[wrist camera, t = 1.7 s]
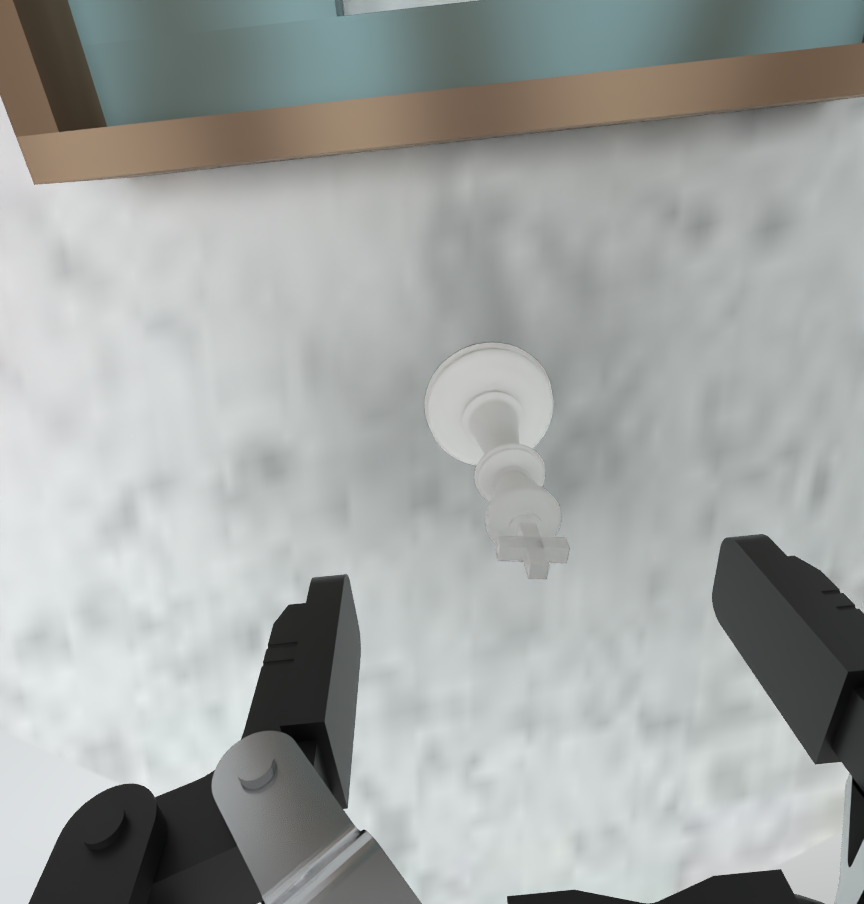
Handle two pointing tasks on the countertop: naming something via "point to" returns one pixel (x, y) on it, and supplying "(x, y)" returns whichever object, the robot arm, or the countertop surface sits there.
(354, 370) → the countertop surface
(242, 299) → the countertop surface
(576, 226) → the countertop surface
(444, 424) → the chess piece
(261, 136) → the box
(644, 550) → the countertop surface
